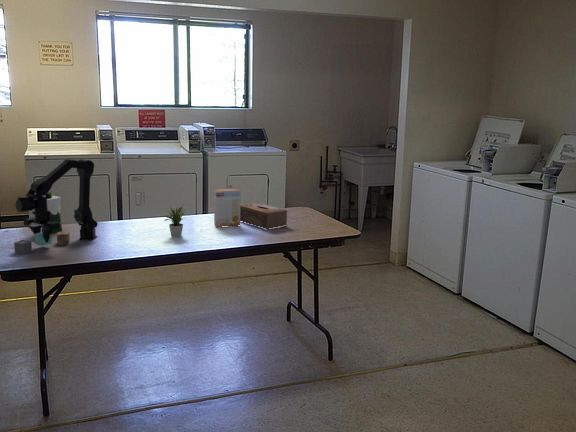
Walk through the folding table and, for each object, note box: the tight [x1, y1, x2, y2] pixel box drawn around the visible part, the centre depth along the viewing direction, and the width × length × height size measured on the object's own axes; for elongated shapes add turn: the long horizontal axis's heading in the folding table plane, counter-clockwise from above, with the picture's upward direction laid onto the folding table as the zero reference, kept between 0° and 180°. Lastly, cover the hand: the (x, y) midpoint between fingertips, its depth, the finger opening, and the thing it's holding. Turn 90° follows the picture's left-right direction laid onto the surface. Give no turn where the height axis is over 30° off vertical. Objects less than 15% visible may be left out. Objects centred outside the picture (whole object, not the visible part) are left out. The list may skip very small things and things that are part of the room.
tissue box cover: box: [240, 202, 288, 229], centre depth 316 cm, size 26×14×10 cm, turn 43°
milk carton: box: [41, 191, 63, 234], centre depth 285 cm, size 9×9×20 cm
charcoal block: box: [13, 239, 33, 255], centre depth 249 cm, size 5×5×5 cm
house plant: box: [160, 205, 186, 238], centre depth 284 cm, size 14×14×16 cm
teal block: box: [33, 231, 52, 247], centre depth 256 cm, size 5×5×5 cm
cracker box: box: [213, 188, 241, 228], centre depth 308 cm, size 14×6×21 cm, turn 111°
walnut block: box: [56, 231, 71, 245], centre depth 266 cm, size 5×5×5 cm
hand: (43, 241), depth 257 cm, fingers closed on teal block, 5 cm apart
